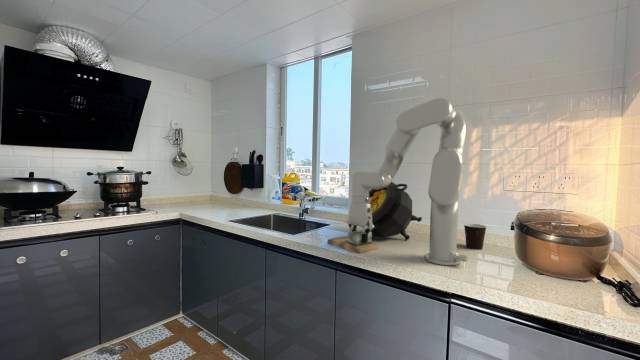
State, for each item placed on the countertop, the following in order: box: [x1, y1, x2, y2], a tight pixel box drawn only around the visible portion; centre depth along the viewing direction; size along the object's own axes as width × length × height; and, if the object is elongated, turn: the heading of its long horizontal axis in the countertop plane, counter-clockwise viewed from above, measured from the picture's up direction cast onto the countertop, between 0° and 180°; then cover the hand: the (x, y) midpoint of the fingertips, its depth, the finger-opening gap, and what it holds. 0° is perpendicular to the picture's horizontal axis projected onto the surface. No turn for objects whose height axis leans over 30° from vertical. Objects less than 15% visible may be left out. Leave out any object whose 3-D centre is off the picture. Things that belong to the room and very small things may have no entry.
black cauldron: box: [368, 181, 423, 241], centre depth 142 cm, size 28×28×24 cm
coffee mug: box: [464, 223, 487, 251], centre depth 125 cm, size 12×9×10 cm
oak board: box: [327, 235, 380, 255], centre depth 127 cm, size 20×12×2 cm, turn 41°
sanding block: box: [348, 229, 372, 246], centre depth 124 cm, size 5×9×5 cm, turn 126°
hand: (359, 240), depth 124 cm, fingers closed on sanding block, 5 cm apart
